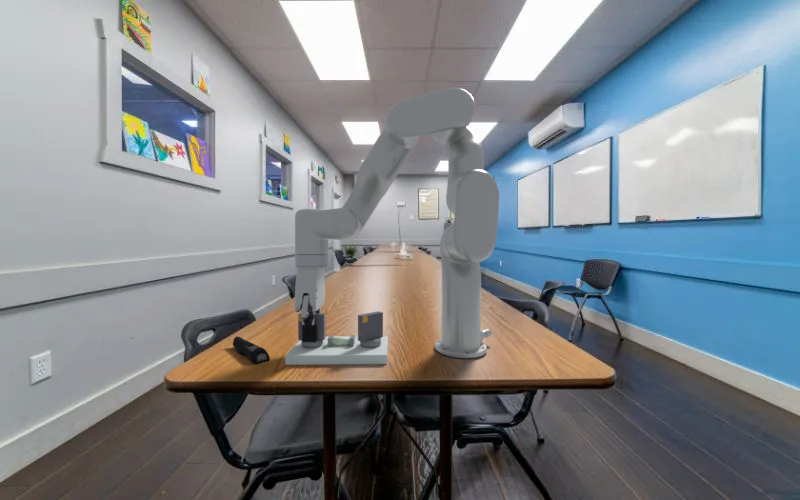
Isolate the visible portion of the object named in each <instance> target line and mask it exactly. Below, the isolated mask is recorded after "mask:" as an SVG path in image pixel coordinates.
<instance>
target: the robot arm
mask: <svg viewBox="0 0 800 500" xmlns="http://www.w3.org/2000/svg"><path fill="white" fill-rule="evenodd" d="M475 113H476V102H475V100H474V97H473V96H472V94H471V93H469V91H467V90H466V89H464V88H459V87H450V88H449V87H448V88H444V89H439V90H435V91H432V92H427V93H424V94H420V95H416V96H412V97H409V98H406V99H402V100H400V101H399V102H396V103H395V104H393V105H392V106H391V107H390V108H389V110H388V111H387V113H386V118H385V126H384V127H383V130H382V131H381V133H380V135H379V136H378V138H377V139H376V141H375V143H374V144H373V146H372V147H371V148H370V150H369V152H368V153H367V154H366V156H365V158H364V160H363V161H362V162H361V164H360V166H359V169H358V171H357V175H356V179H355V182H354V186H353V188H352V191H351V192H350V194H349V197H348V198H347V200H346V202H345V203H344V205H343V206H342V207H339V208H332V209H317V208H316V209H315V208H302V209H299V210H297V211H296V212H295V214H294V227H295V228H294V231H295V232H294V247H295V248H294V253H295V254H294V257H295V258H294V266H295V267H294V268H295V269H296V276H295V277H296V278H295V287H294V311H295V313H301V318H302V341H303V342H316V341H317V324H315V321H316V313H322V308H323V306H324V305H325V301H326V273H325V269H328V268H329V240H334V241H336V240H337V241H342V242H343V241H344V242H348V241H352V240H354V239H356V238H357V237H358V236H359V235H360V233H361V232H362V231H363V229H364V228H365V226H366V224H367V222H369V219H370V218H371V216H372V214H374V211H375V210H376V208H377V207H378V205H379V204H380V202H381V201H382V199H383V197H384V196H386V194H387V193H388V191H389V189H390V187H391V186H392V184H393V183H394V181H395V179H396V177H398V174H399V172H400V171H401V169H402V168H403V166H404V165H405V163H406V162H407V160H408V158H410V156H411V154H412V152H413V151H414V149H415V148H416V146H417V144H418V143H419V140H420V137H425V136H428V135H429V136H430V135H431V136H432V138H433V140H434V141H436V142H437V144H439V145H440V146H442V148H443V149H444V150H445V152H446V154H447V157H448V158H447V159H448V172H447V174H448V175H447V187H446V196H445V197H446V199H445V200H446V207H447V208H448V210H449V212H451V213H452V214H453V215H454V217H453V218H454V220H453V223H452V224H450V225H449V226H448V227H446V228H445V230H444V231H443V232H442V233H441V234H442V235H441V236H440V237H441V238H440V241H439V250H440V251H439V252H440V260H441V262H440V263H441V338H439V339H438V340H436V341H435V343H434V348H435V350H436V351H437V352H439V353H440V354H442V355H444V356H447V357H451V358H456V359H457V358H458V359H475V358H480V357H482V356H484V355H486V353H487V350H488V347H487V345H486V344H485V343H484V342H483V341H484V339H485V338H489V337H491V336H492V334H493V333H492V331H491V329H489V328H488V329H487V328H486V329H481V317H482V316H481V315H482V314H481V313H482V311H481V310H482V307H481V306H482V304H481V303H482V302H481V301H482V295H481V294H482V273H481V264H480V263H481V262H483V261H486V260H487V259H488V258H489V257H490V256H491V255H492V253H493V252H494V249H495V247H496V243H497V236H498V223H499V211H500V192H499V191H500V190H499V186H498V183H497V181H496V180H495V178H494V176H492V175H491V174H490V173H489V172H488V171H486V170H484V169H485V167H484V166H485V165H484V162H485V160H484V159H485V155H484V154H485V153H484V148H483V145H482V143H481V141H480V139H479V137H478V136H477V135H476V133H475V132H474V131H473V130H472V129H471V128H470V127H468V126H469V125H470V124H471V123H472V121H473V119H474V117H475ZM309 314H312V316H311V315H309Z"/></svg>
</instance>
